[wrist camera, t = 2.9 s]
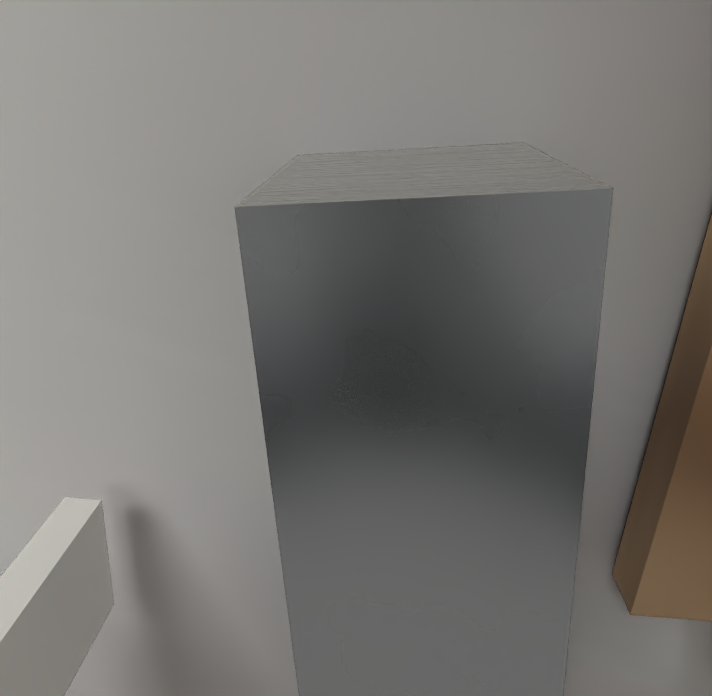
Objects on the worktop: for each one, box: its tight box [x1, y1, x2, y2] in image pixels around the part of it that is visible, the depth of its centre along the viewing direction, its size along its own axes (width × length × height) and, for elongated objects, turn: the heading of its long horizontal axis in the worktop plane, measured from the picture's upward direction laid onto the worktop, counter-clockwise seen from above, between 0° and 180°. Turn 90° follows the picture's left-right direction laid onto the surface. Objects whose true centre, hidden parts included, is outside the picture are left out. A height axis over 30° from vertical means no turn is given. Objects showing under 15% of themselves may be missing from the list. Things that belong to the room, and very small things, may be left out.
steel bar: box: [235, 143, 613, 696], centre depth 12 cm, size 16×4×5 cm, turn 3°
